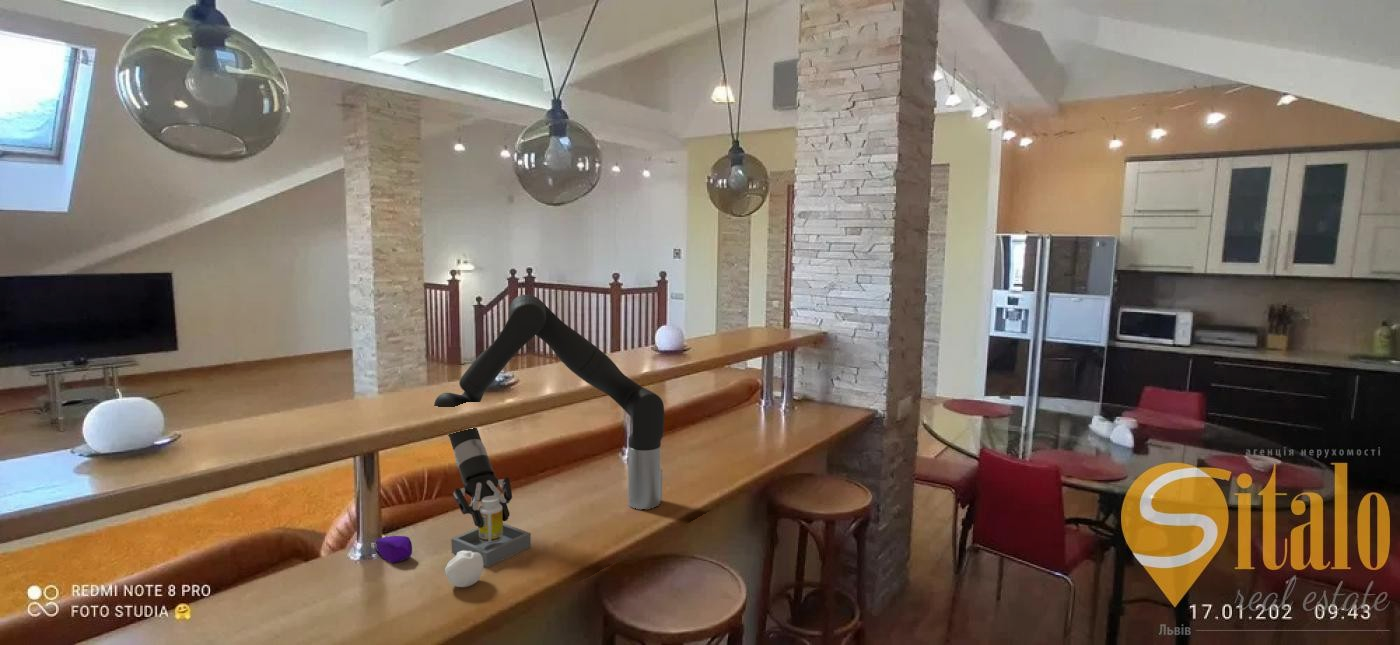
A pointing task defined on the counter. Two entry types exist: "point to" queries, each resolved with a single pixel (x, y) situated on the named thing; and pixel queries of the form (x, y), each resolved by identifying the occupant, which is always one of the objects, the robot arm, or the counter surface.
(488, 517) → the supplement bottle
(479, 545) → the tray
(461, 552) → the white swirled ball
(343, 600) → the counter surface
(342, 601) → the counter surface
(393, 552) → the crystal
